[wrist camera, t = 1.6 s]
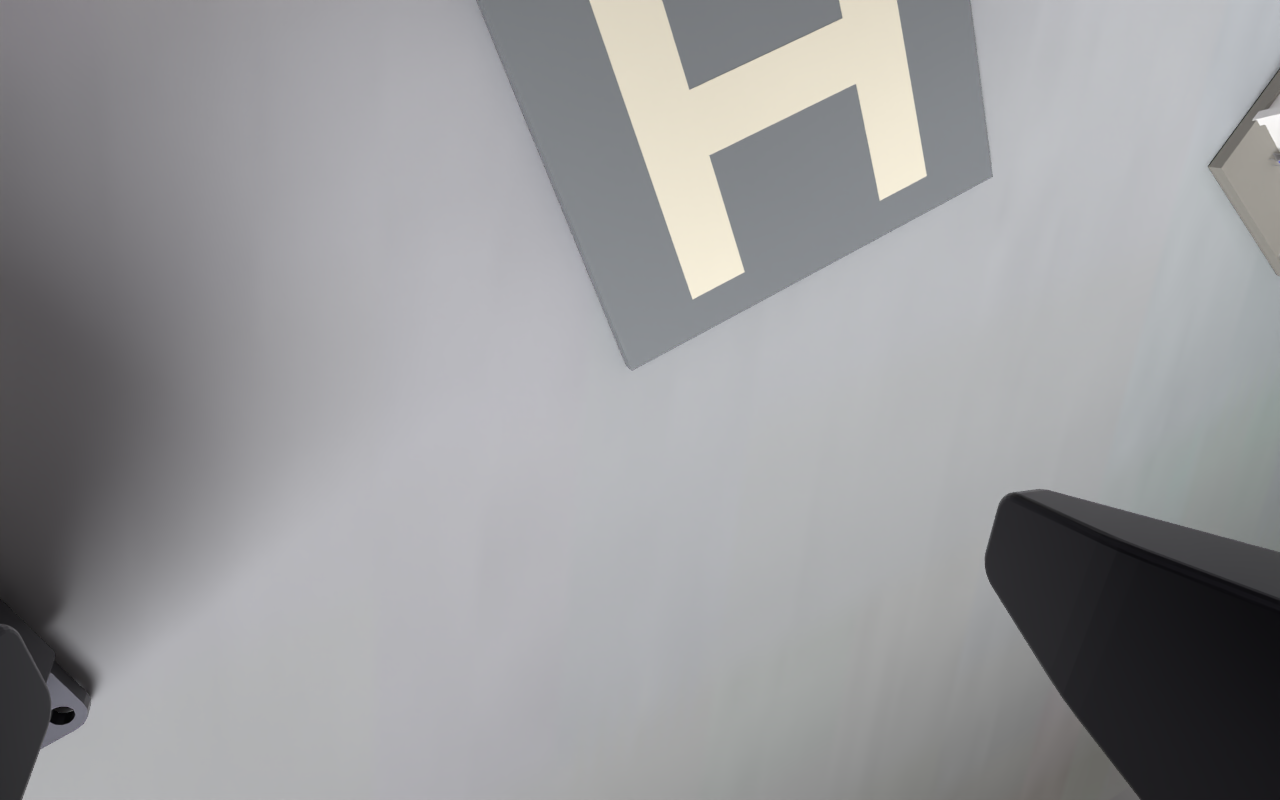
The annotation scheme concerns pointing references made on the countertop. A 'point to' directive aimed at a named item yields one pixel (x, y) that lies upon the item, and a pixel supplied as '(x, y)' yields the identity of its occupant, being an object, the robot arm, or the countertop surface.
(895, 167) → the letter card
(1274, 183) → the skyscraper
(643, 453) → the countertop surface
